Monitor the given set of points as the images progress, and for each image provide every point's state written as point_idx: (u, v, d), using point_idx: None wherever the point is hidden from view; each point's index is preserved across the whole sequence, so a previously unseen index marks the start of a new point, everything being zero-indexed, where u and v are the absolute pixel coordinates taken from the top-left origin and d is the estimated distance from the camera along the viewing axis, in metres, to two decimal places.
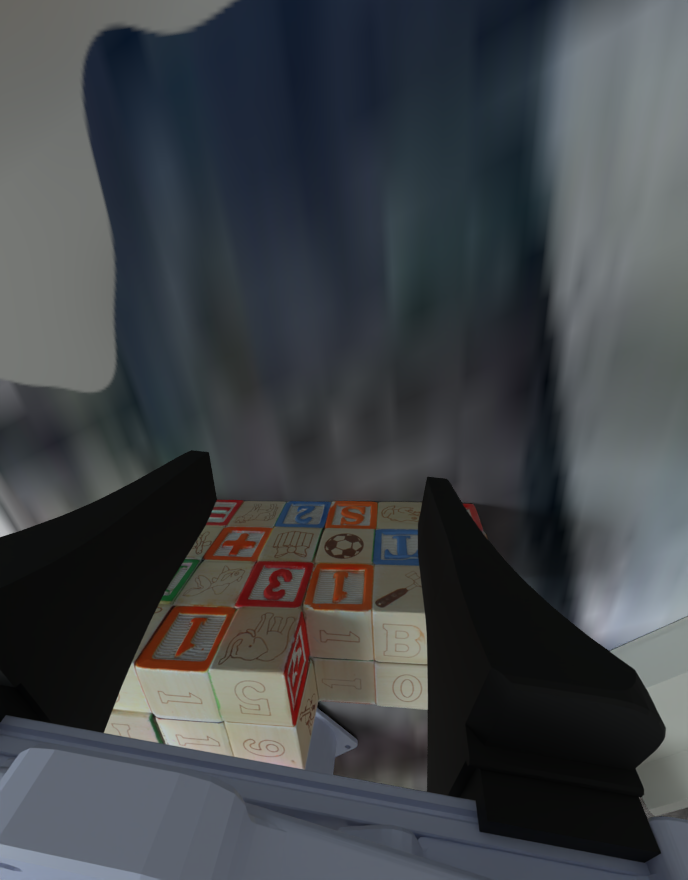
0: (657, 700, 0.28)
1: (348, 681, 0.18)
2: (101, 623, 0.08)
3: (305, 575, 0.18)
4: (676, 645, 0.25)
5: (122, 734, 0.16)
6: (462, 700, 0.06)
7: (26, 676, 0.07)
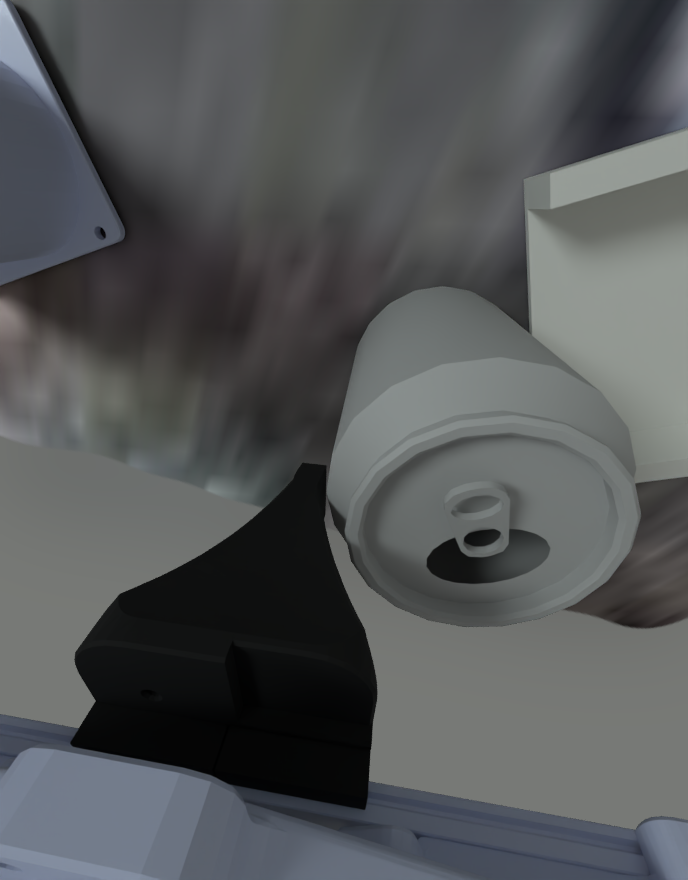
0: (681, 295, 0.15)
1: None
2: None
3: None
4: None
5: None
6: None
7: (243, 714, 0.06)
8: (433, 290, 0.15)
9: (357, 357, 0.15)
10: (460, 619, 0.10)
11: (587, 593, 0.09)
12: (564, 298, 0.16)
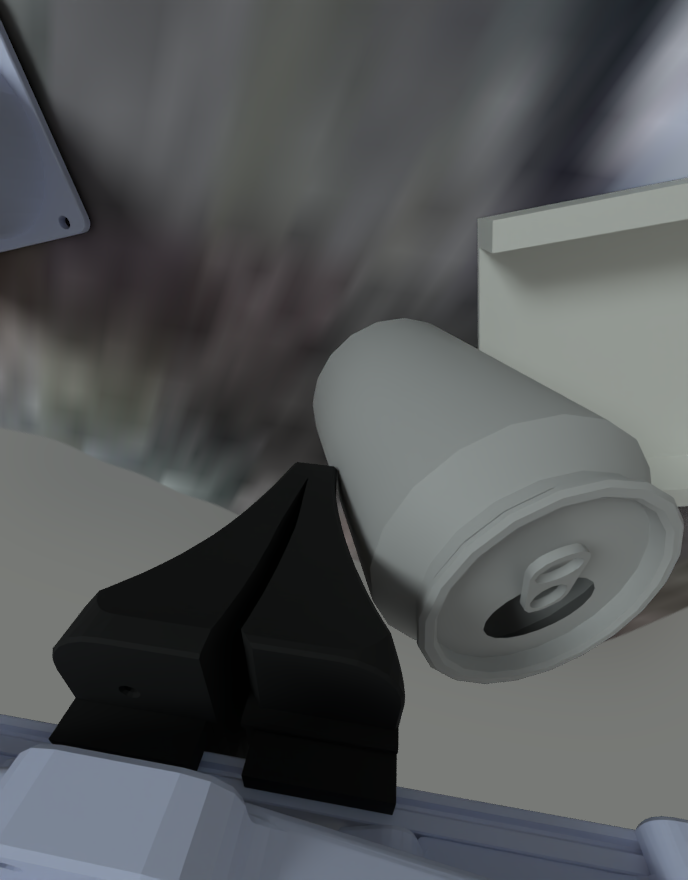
0: (615, 341, 0.17)
1: None
2: None
3: None
4: None
5: None
6: None
7: (222, 710, 0.06)
8: (399, 323, 0.15)
9: (334, 396, 0.14)
10: (513, 674, 0.10)
11: (625, 623, 0.09)
12: (510, 333, 0.17)
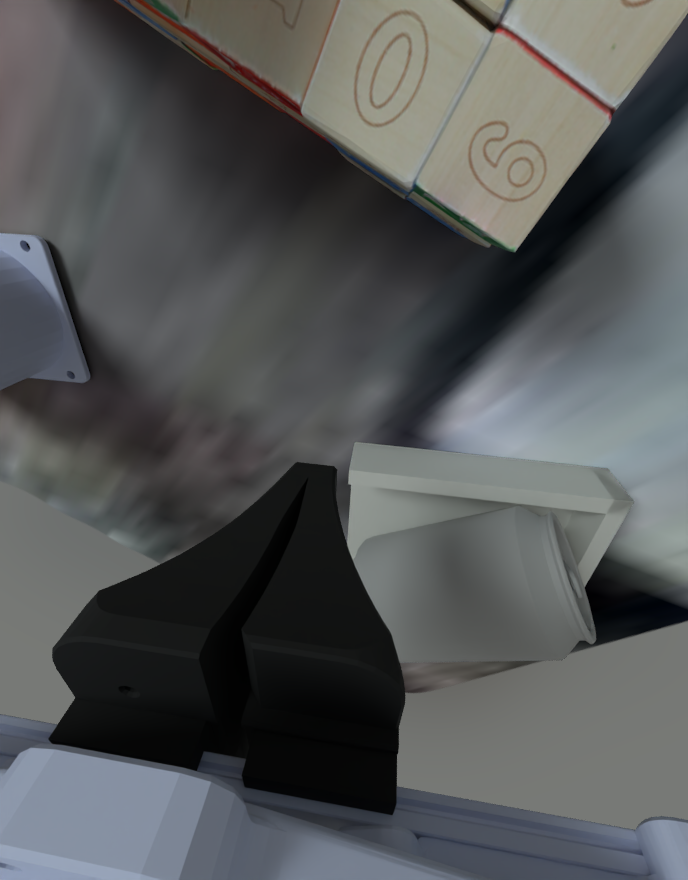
0: None
1: None
2: None
3: None
4: (511, 471, 0.22)
5: None
6: None
7: (222, 710, 0.06)
8: None
9: (427, 660, 0.21)
10: (577, 570, 0.21)
11: (558, 520, 0.21)
12: (369, 506, 0.26)
